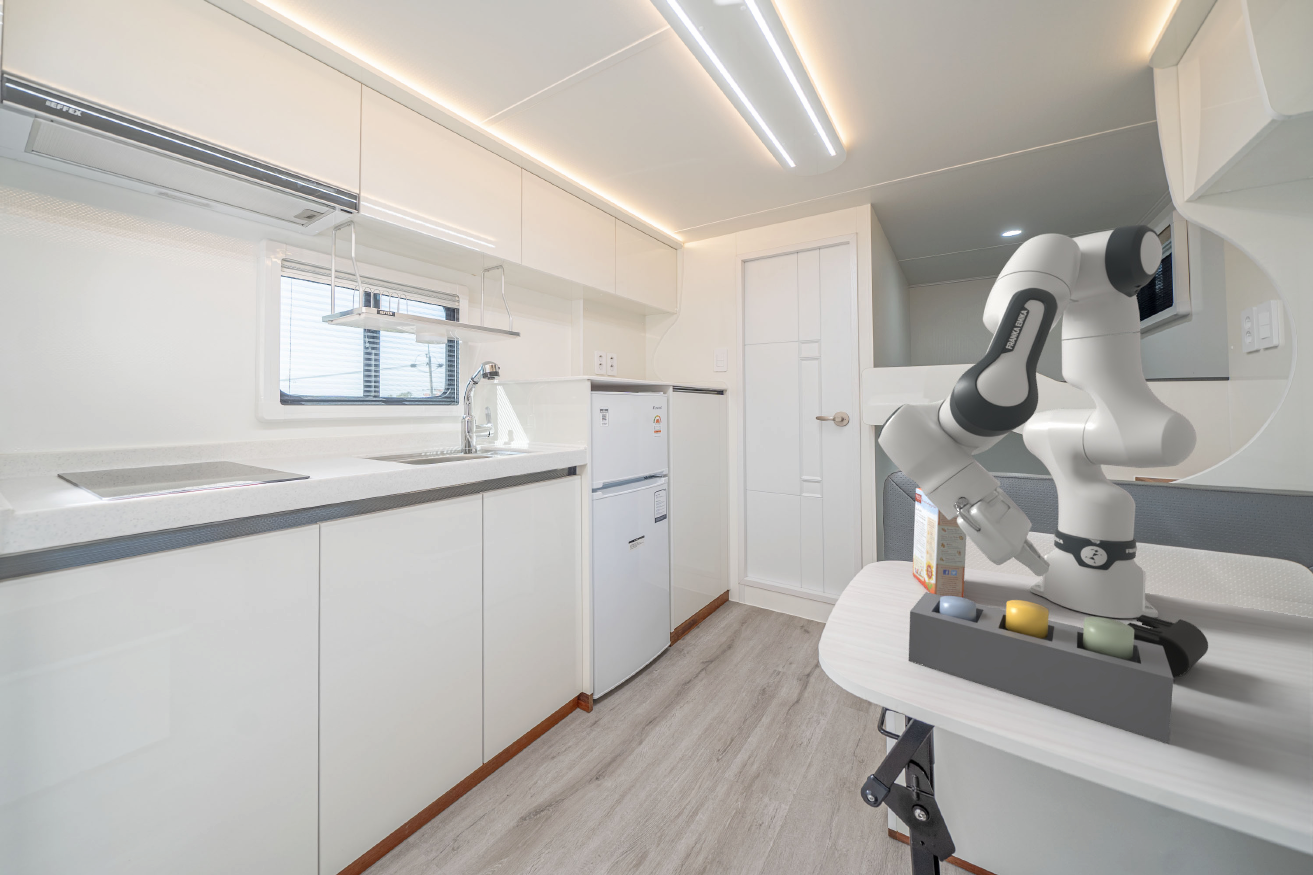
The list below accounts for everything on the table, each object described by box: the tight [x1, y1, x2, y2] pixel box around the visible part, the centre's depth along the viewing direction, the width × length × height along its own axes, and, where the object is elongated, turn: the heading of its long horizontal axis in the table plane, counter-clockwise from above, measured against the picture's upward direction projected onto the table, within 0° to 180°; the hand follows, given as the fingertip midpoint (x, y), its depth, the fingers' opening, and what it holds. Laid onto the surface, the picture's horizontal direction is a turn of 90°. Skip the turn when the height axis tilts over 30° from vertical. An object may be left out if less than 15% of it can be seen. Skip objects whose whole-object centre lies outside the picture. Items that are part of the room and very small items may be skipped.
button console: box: [908, 591, 1174, 745], centre depth 69 cm, size 10×28×8 cm, turn 48°
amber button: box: [1005, 599, 1050, 639], centre depth 69 cm, size 5×5×4 cm
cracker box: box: [912, 487, 967, 598], centre depth 104 cm, size 14×6×21 cm, turn 168°
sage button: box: [1083, 616, 1134, 660], centre depth 63 cm, size 5×5×4 cm
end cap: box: [1127, 615, 1209, 678], centre depth 72 cm, size 10×7×7 cm
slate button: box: [939, 596, 977, 623], centre depth 75 cm, size 5×5×4 cm
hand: (1045, 571), depth 67 cm, fingers closed
